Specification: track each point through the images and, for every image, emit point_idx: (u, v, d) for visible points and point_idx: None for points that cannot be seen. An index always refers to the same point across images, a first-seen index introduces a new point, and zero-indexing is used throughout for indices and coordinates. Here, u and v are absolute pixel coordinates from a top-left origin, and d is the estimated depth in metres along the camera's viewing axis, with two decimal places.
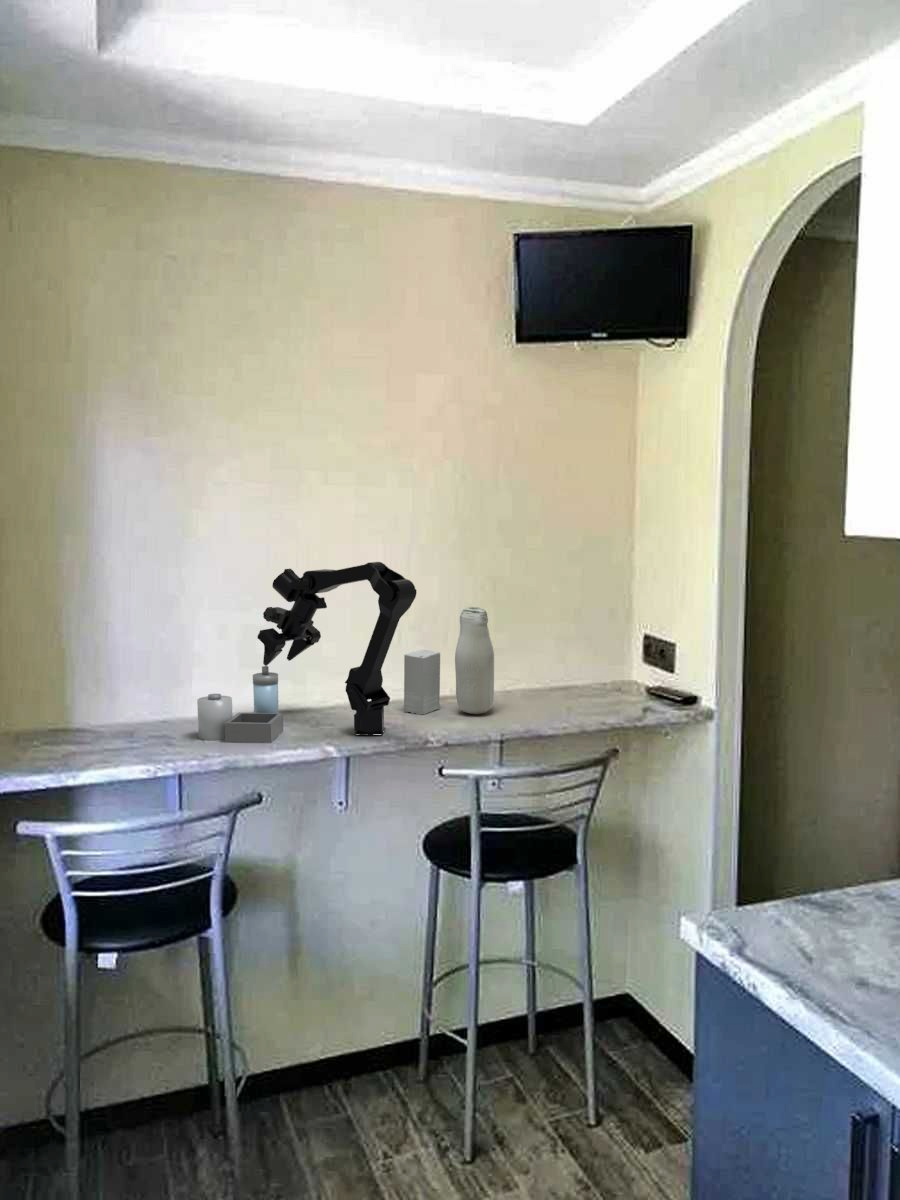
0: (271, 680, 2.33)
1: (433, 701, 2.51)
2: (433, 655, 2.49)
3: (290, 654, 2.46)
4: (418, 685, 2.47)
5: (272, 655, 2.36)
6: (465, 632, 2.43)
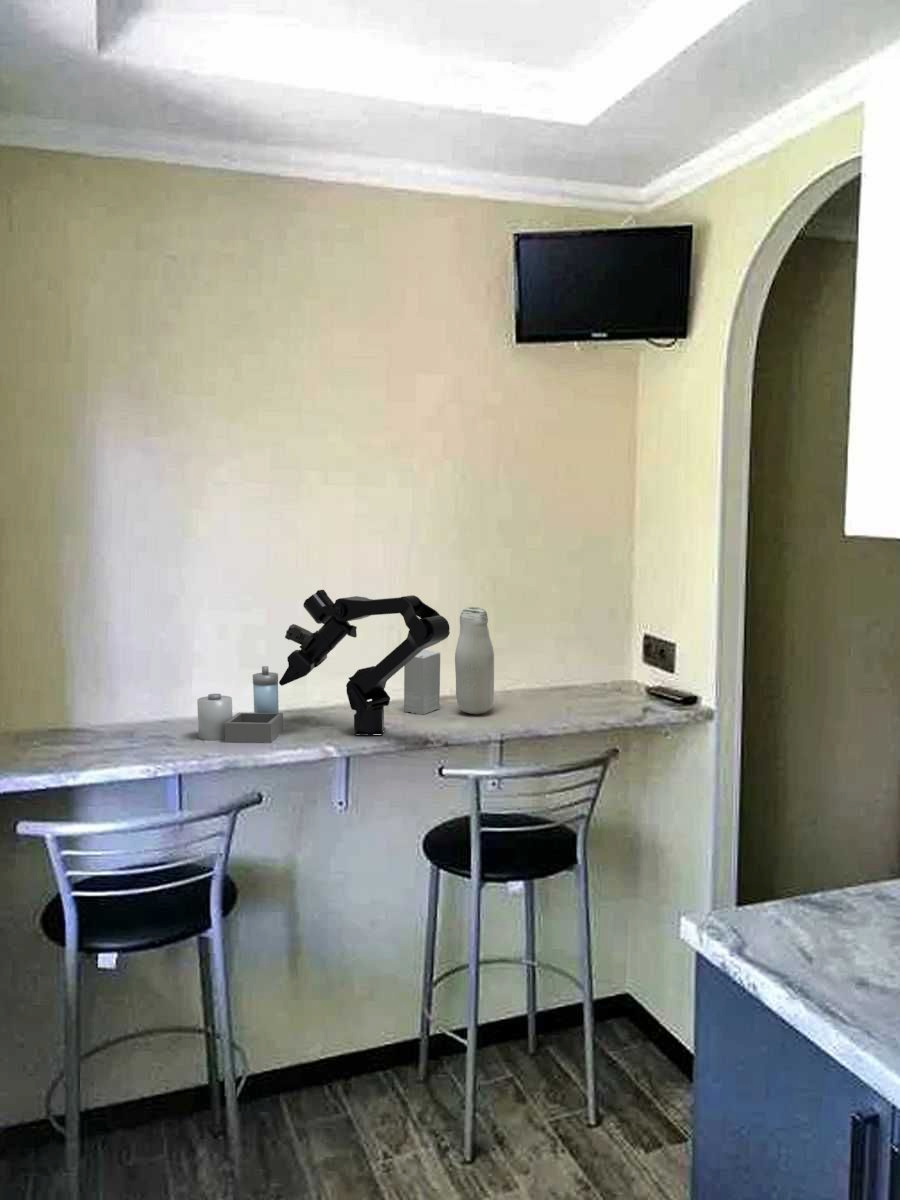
0: (271, 680, 2.33)
1: (433, 701, 2.51)
2: (433, 655, 2.49)
3: None
4: (418, 685, 2.47)
5: (296, 677, 2.28)
6: (465, 632, 2.43)
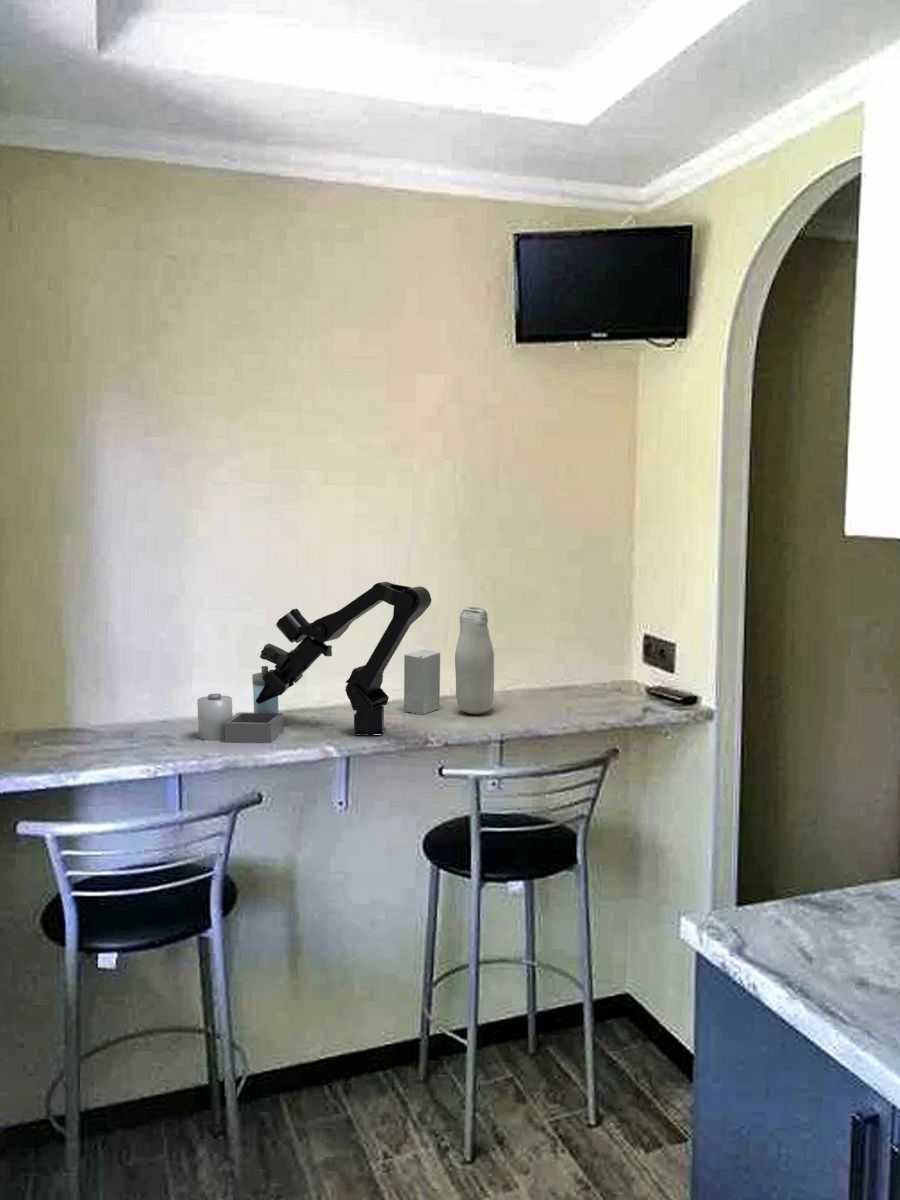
0: None
1: (433, 701, 2.51)
2: (433, 655, 2.49)
3: None
4: (417, 685, 2.47)
5: (272, 696, 2.31)
6: (465, 632, 2.43)
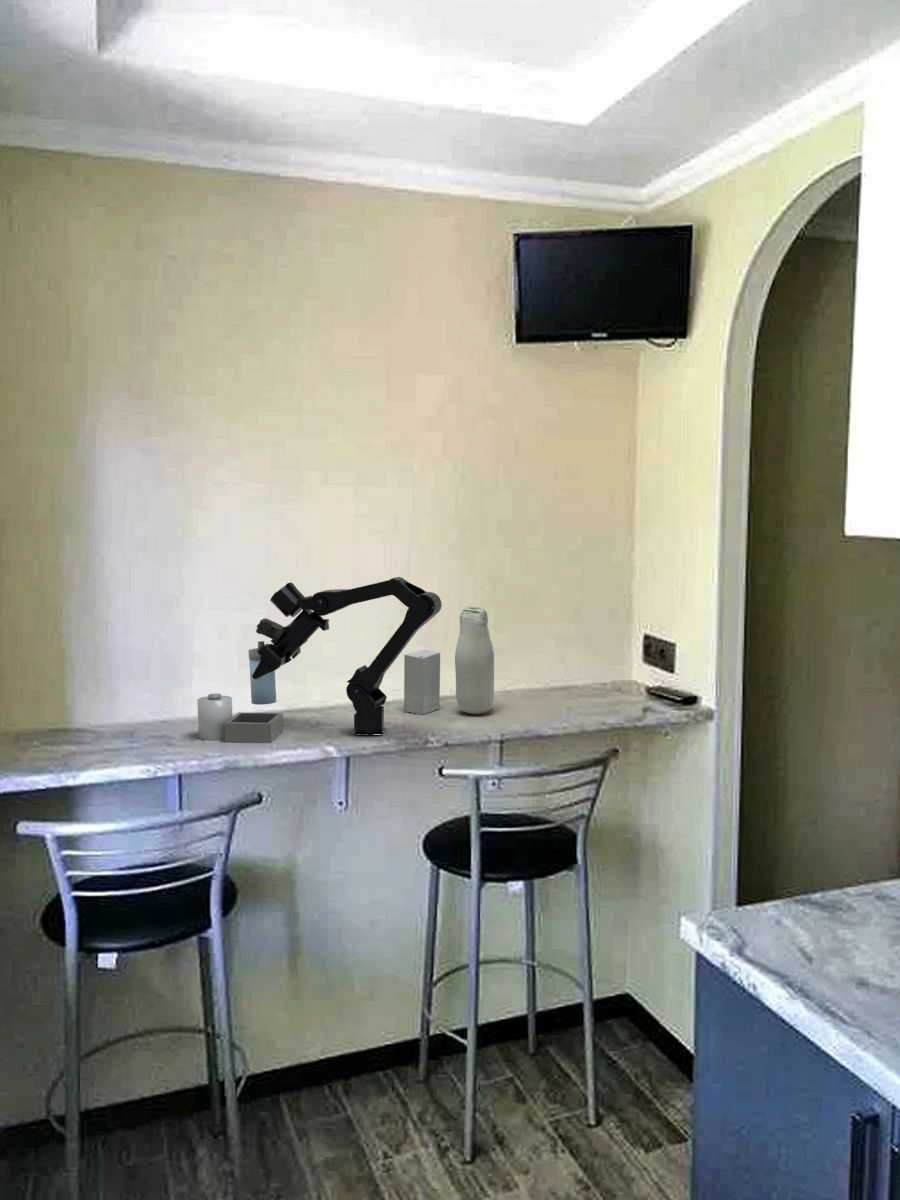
0: None
1: (433, 701, 2.51)
2: (433, 655, 2.49)
3: None
4: (418, 685, 2.47)
5: (268, 670, 2.27)
6: (465, 632, 2.43)
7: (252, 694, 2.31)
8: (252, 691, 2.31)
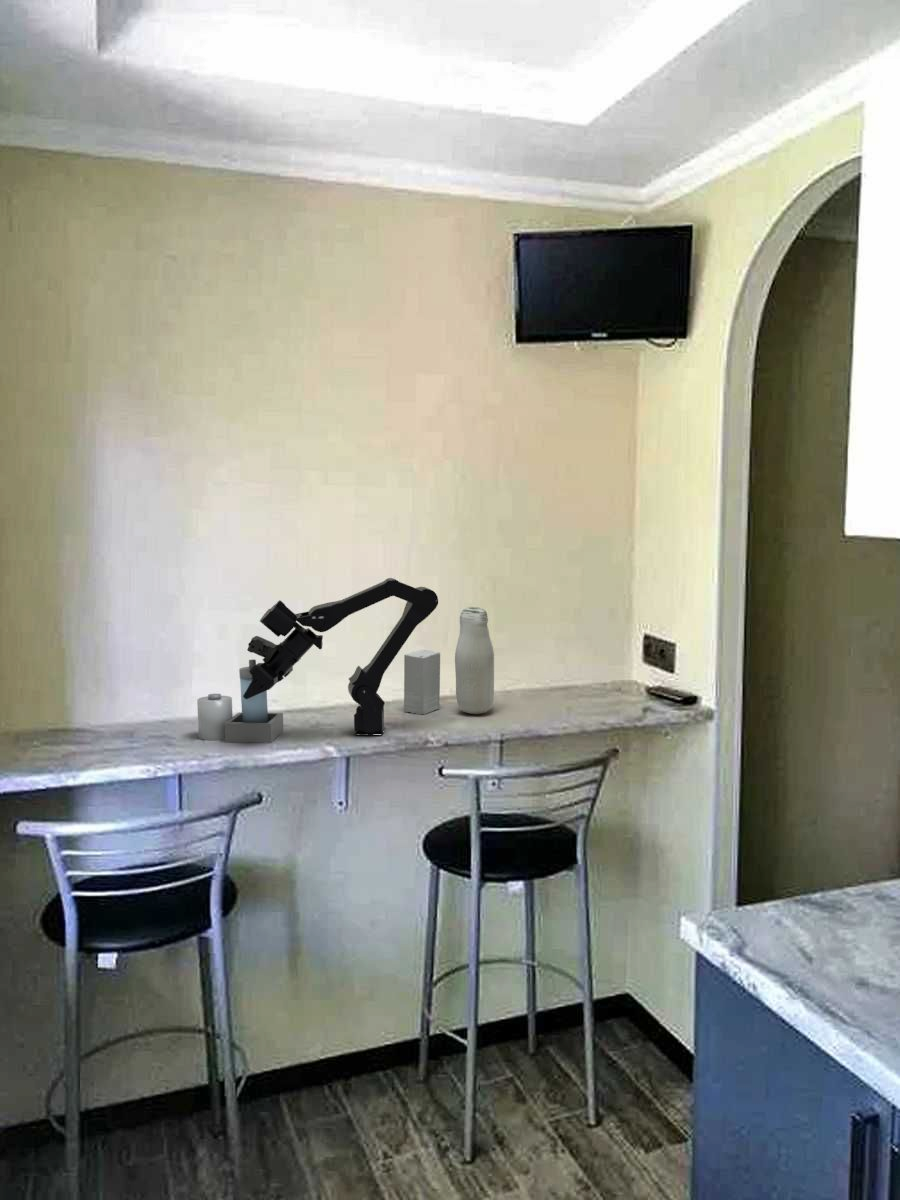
0: None
1: (433, 701, 2.51)
2: (433, 655, 2.49)
3: None
4: (418, 685, 2.47)
5: (260, 690, 2.20)
6: (465, 632, 2.43)
7: (243, 715, 2.23)
8: (243, 711, 2.23)
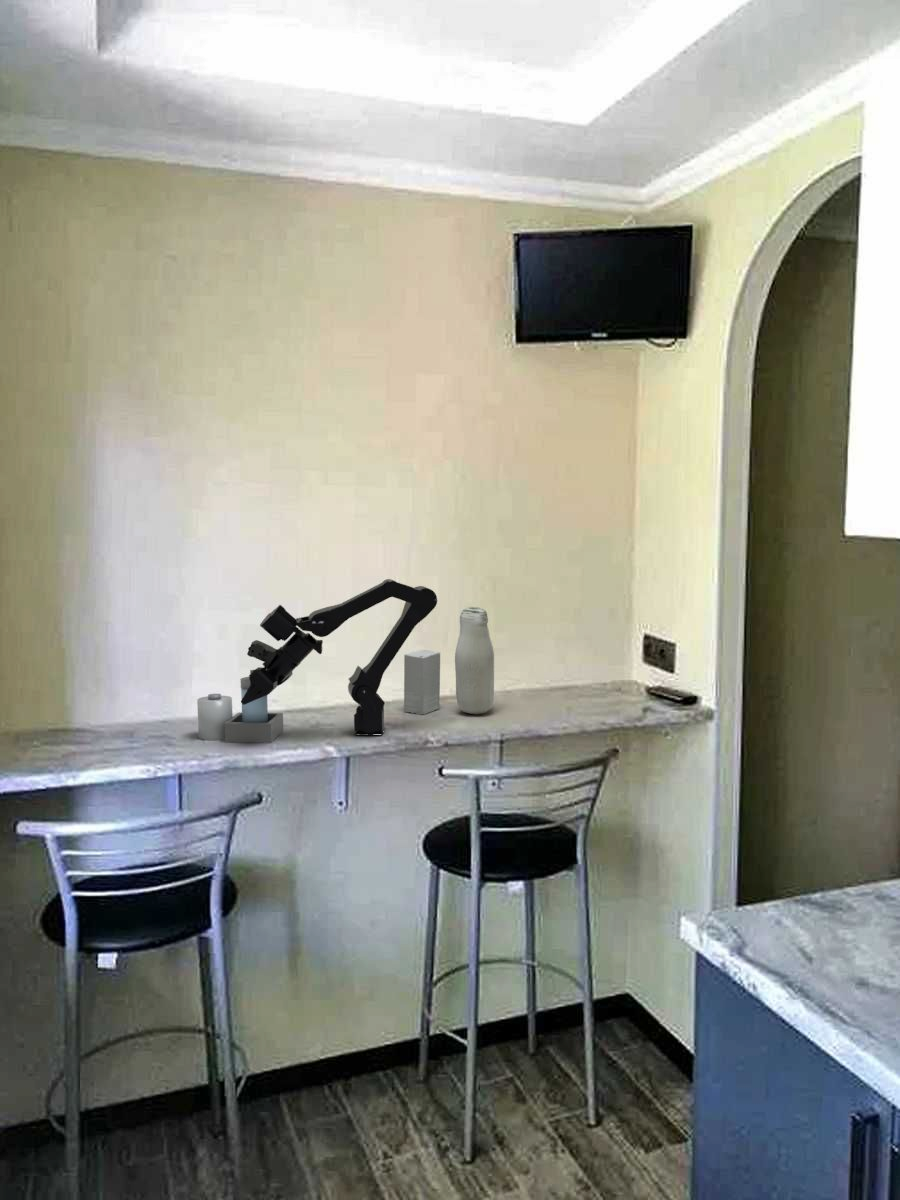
0: None
1: (433, 701, 2.51)
2: (433, 655, 2.49)
3: None
4: (418, 685, 2.47)
5: (258, 696, 2.18)
6: (465, 632, 2.43)
7: None
8: (243, 721, 2.24)
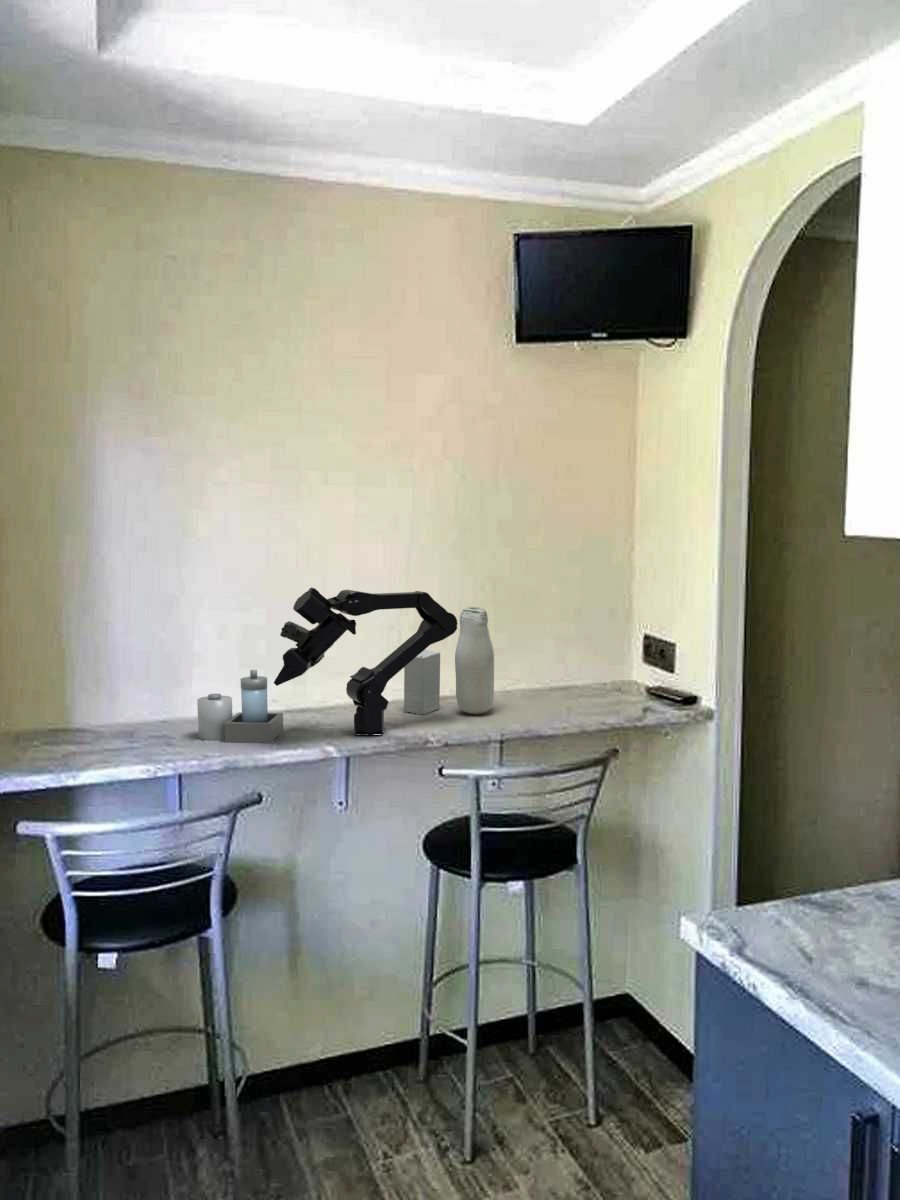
0: (260, 684, 2.22)
1: (433, 701, 2.51)
2: (433, 655, 2.49)
3: None
4: (418, 685, 2.47)
5: (291, 677, 2.17)
6: (465, 632, 2.43)
7: None
8: (243, 721, 2.24)
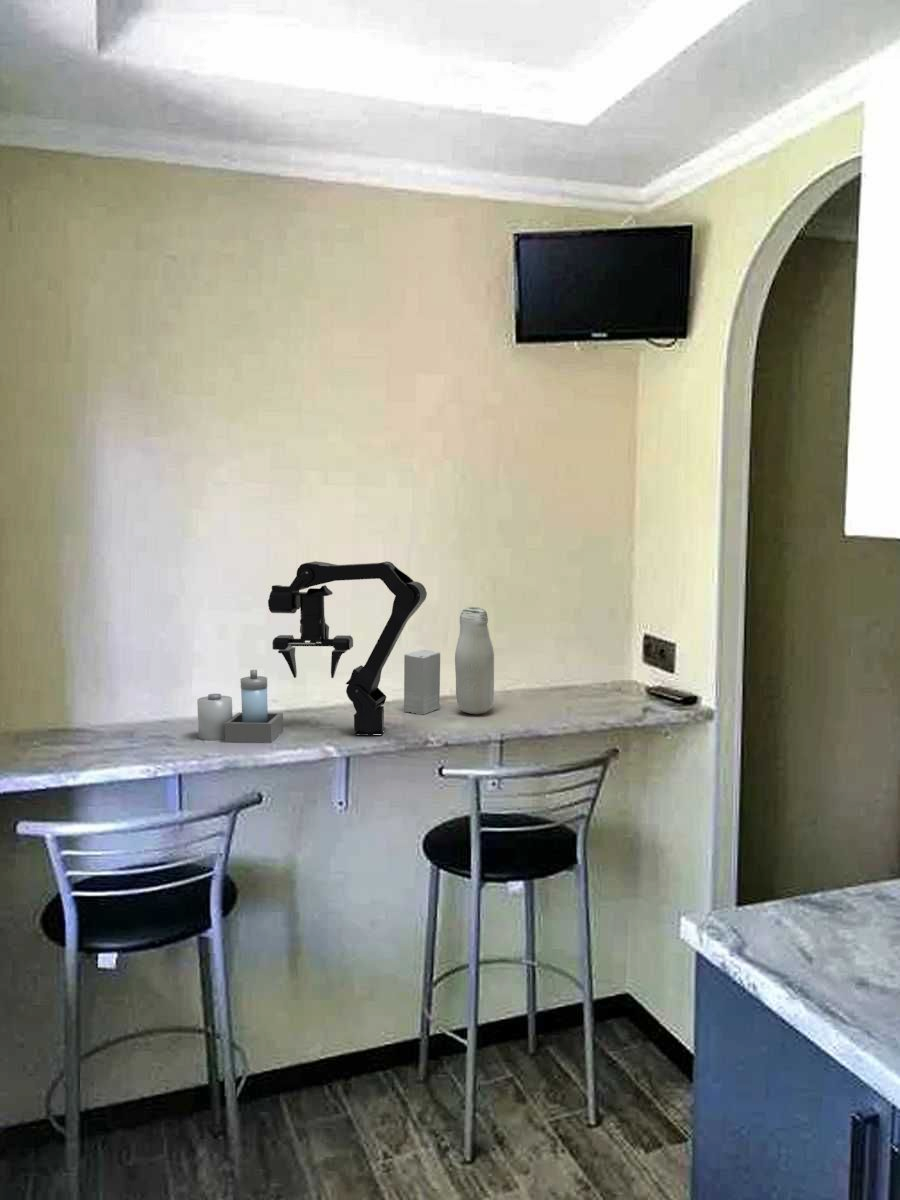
0: (260, 684, 2.22)
1: (433, 701, 2.51)
2: (433, 655, 2.49)
3: None
4: (418, 685, 2.47)
5: None
6: (465, 632, 2.43)
7: None
8: (243, 721, 2.24)
